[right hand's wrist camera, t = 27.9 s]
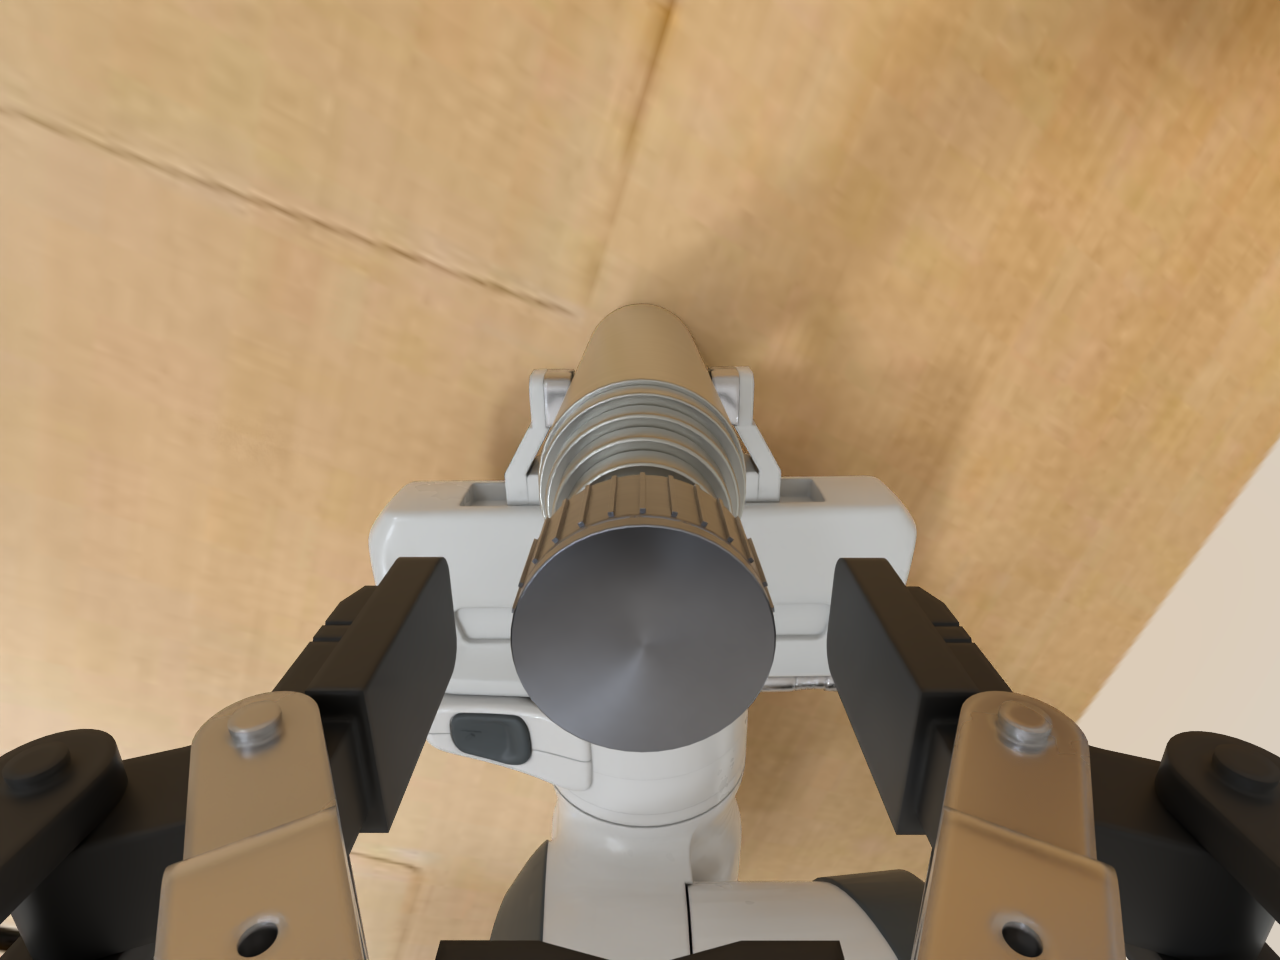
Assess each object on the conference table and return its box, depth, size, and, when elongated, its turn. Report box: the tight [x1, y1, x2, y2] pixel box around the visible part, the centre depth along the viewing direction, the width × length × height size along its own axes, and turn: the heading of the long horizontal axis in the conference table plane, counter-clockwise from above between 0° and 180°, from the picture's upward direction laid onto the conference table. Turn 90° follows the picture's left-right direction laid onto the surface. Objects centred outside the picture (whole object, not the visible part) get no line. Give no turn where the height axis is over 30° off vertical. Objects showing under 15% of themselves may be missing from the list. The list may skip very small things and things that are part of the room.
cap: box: [510, 472, 776, 752], centre depth 11 cm, size 4×4×2 cm
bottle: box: [538, 304, 746, 521], centre depth 21 cm, size 5×5×22 cm
